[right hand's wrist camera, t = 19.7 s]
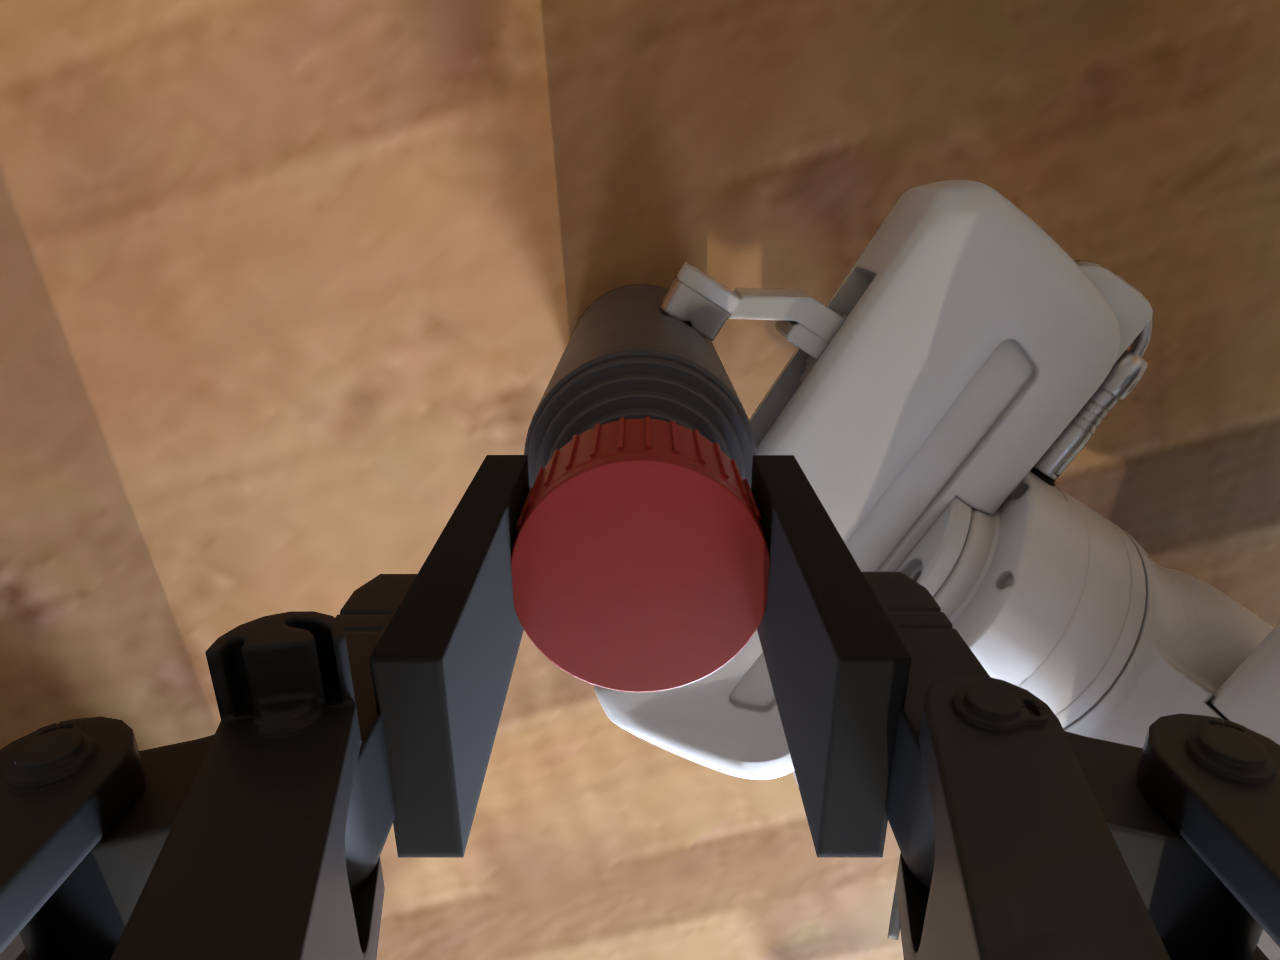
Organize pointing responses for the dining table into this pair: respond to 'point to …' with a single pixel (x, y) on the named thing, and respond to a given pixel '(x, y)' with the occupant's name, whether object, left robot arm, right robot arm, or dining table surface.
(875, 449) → the left robot arm
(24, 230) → the dining table surface
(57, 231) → the dining table surface
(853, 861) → the dining table surface
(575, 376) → the bottle
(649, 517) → the cap
